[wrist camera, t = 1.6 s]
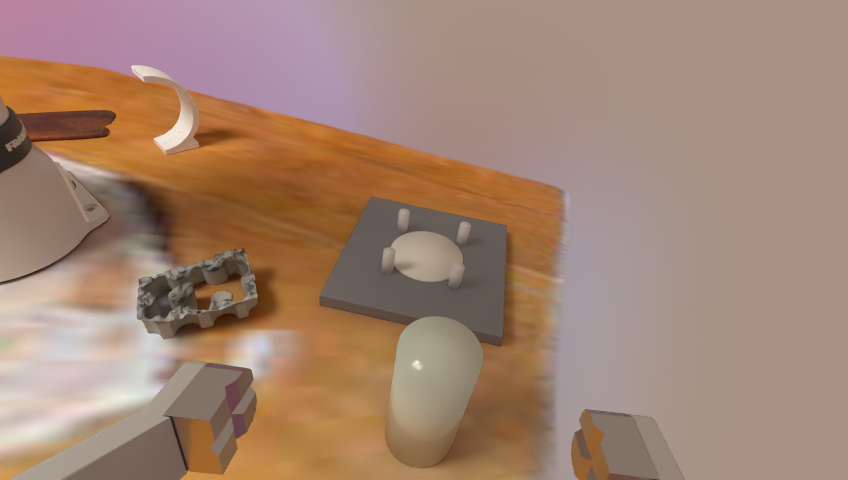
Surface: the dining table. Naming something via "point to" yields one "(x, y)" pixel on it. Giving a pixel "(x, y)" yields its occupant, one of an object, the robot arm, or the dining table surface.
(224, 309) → the egg carton
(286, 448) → the dining table surface
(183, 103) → the headphone stand
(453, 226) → the peg stand
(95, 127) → the wooden tablet
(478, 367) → the canister
